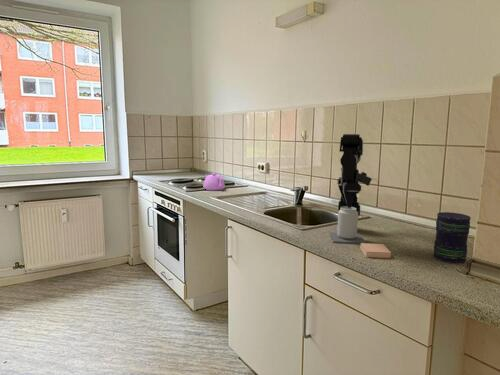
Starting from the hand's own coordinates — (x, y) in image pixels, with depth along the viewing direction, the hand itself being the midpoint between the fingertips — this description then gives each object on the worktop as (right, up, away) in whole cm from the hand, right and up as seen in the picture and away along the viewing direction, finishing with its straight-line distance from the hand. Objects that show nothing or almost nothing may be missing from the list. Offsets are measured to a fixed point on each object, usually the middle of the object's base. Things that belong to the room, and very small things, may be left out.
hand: (347, 205), depth 141 cm
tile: (+5, -14, -13) cm, 20 cm away
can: (0, -13, -1) cm, 13 cm away
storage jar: (+29, -17, -22) cm, 40 cm away
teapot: (-65, +6, +115) cm, 132 cm away
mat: (0, -13, -1) cm, 13 cm away
